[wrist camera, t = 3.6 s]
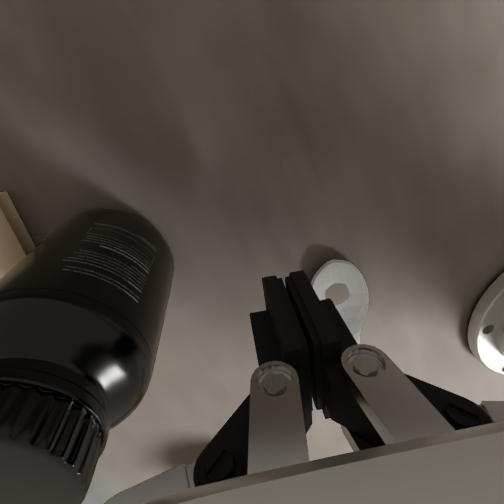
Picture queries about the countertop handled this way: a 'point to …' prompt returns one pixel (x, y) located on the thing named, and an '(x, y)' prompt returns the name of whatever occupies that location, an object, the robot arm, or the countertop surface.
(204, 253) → the countertop surface
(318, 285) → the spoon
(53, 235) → the supplement bottle
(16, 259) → the cutting board
